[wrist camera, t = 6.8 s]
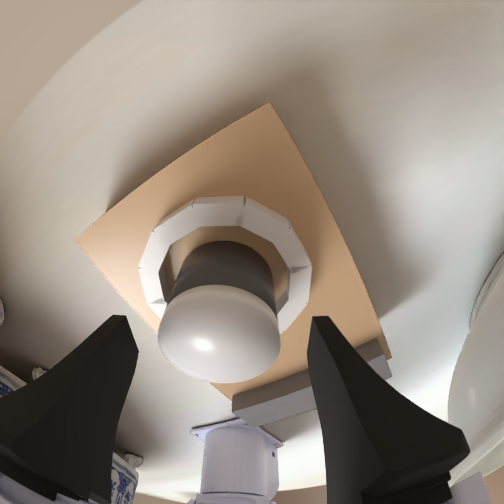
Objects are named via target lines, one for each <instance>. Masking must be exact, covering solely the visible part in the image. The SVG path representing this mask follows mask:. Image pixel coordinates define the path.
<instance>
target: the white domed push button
mask: <svg viewBox="0 0 504 504" xmlns="http://www.w3.org/2000/svg"><path fill="white" fill-rule="evenodd" d="M158 343H159V346H160V349H161V351H162V353H163V354H164V356H165V357H166V359H167V360H168V361H169V362H170V363H171V364H172V365H173V366H174V367H176V368H177V369H178V370H180V371H181V372H183V373H185V374H187V375H189V376H191V377H193V378H196V379H199V380H203V381H207V382H212V383H237V382H242V381H246V380H249V379H252V378H255V377H257V376H259V375H261V374H262V373H264V372H265V371H266V370H268V369H269V368H270V367H271V366H272V365H273V364H274V362H275V361H276V359H277V357H278V355H279V352H280V347H281V341H280V333H279V325H278V317H277V309H276V301H275V293H274V286H273V278H272V273H271V269H270V267H269V265H268V263H267V262H266V260H265V259H264V258H263V257H262V256H261V255H260V254H259V253H258V252H257V251H255V250H254V249H252V248H251V247H249V246H247V245H244V244H241V243H238V242H234V241H213V242H209V243H206V244H203V245H201V246H199V247H198V248H196V249H194V250H193V251H192V252H191V253H190V254H189V255H188V256H187V257H186V259H185V260H184V262H183V264H182V266H181V268H180V271H179V273H178V276H177V279H176V281H175V284H174V287H173V289H172V292H171V295H170V298H169V300H168V303H167V306H166V309H165V312H164V314H163V317H162V320H161V323H160V326H159V330H158Z"/></svg>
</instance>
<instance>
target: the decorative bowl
mask: <svg viewBox="0 0 504 504" xmlns="http://www.w3.org/2000/svg"><path fill="white" fill-rule="evenodd" d="M45 372H47V371H44V370H43V369H42V368H40V367H38V369H37V368H33V371H32V377H33V380H35V379H36V378H38V377H40V376H41V375H43V374H44V373H45ZM26 384H27V383H25V382H24V381H22V380H21V379H19V378H18V377H16V376H15V375H14V374H12V373H11V372H9V371H8V370H6V369H5V368H3V367H2V366H0V397H2V396H5V395H7V394H9V393H11V392H13V391H15V390H17V389H19V388H21V387H23V386H25V385H26ZM142 463H143V458H142V457H136V456H135V455H132V454H125V456H124V460H123V459H122V458H121V457H119V456H118V455H117V454H116V453H114V452H113V459H112V473H111V501H112V503H111V504H133V497H134V494H135V490H136V487H137V483H138V476H139V475H138V473H137V472H136V471H135V468H136V467H138V466H139V465H141V464H142ZM79 502H81V503H84V504H94V503H92V502H89V501H88V502H84V501H81V500H79Z"/></svg>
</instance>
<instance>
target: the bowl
mask: <svg viewBox="0 0 504 504" xmlns="http://www.w3.org/2000/svg"><path fill="white" fill-rule="evenodd" d="M448 422H449V424H451V425H453V426H456V427H458V428H460V429H462V431H463V433H464V435H465V437H466V440H467V442H468V445H469V448H470V453H469V455H468V456H467V457H466V458H465V459H464V460H463V461H462V462H461V463H459V464H458V465H457V466H455V467H454V468H453V469H452V470H450V475H451V480H450V481H448V485H449V487H451V486H453V485H454V484H456V483H458V482H460V481H462V480H464V479H466V478H468V477H470V476H472V475H474V474H476V473H477V472H481V473H482V476H483V477H485V476H486V475H488V474H490V473H492V472H493V471H495V470H497V469H498V468H500V467H501V466H503V465H504V253H503V254H502V256H501V257H500V258H499V260H498V261H497V263H496V264H495V266H494V268H493V269H492V271H491V273H490V275H489V276H488V278H487V280H486V281H485V283H484V285H483V287H482V289H481V291H480V294H479V296H478V298H477V300H476V303H475V306H474V308H473V312H472V316H471V321H470V332H469V334H468V336H467V338H466V340H465V342H464V345H463V347H462V350H461V352H460V355H459V357H458V360H457V363H456V366H455V370H454V373H453V376H452V381H451V385H450V391H449V399H448Z"/></svg>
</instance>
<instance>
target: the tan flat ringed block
mask: <svg viewBox="0 0 504 504" xmlns="http://www.w3.org/2000/svg"><path fill="white" fill-rule="evenodd" d="M75 241H76V243H77V244H78V245H79V247H80V248H81V249H82V251H83V252H84V253H85V254H86V256H87V257H88V258H89V259H90V261H91V262H92V263H93V264H94V265H95V267H96V268H97V269H98V270H99V271H100V273H101V274H102V275H103V276H104V277H105V279H106V280H107V281H108V282H109V283H110V284H111V286H112V287H113V288H114V289H115V290H116V291H117V292H118V293H119V295H120V296H121V297H122V298H123V299H124V300H125V301H126V302H127V303H128V305H129V306H130V307H131V308H132V309H133V310H134V311H135V312H136V313H137V314H138V315H139V316H140V317H141V318H142V319H143V320H144V321H145V323H146V324H147V325H148V326H149V327H150V328H151V329H152V330H153V331H154V332H155V333H156V334H157V335H158V330H159V326H160V323H161V320H162V317H163V314H164V312H165V309H166V306H167V303H168V300H169V298H170V295H171V292H172V289H173V287H174V284H175V281H176V279H177V276H178V273H179V271H180V268H181V266H182V264H183V262H184V260H185V259H186V257H187V256H188V255H189V254H190V253H191V252H192V251H193V250H194V249H196V248H198V247H199V246H201V245H203V244H206V243H209V242H213V241H234V242H238V243H241V244H244V245H247V246H249V247H251V248H252V249H254V250H255V251H257V252H258V253H259V254H260V255H261V256H262V257H263V258H264V259H265V260H266V262H267V263H268V265H269V267H270V269H271V273H272V278H273V286H274V293H275V301H276V309H277V317H278V325H279V333H280V341H281V347H280V352H279V355H278V357H277V359H276V361H275V362H274V364H273V365H272V366H271V367H270V368H269V369H268V370H266V371H265V372H264V373H262V374H261V375H259V376H257V377H255V378H252V379H249V380H246V381H242V382H237V383H212V382H209V383H211V384H212V385H213V386H214V387H215V388H216V389H218V390H219V391H220V392H221V393H222V394H224V395H225V396H226V397H227V398H229V399H230V400H231V401H232V413H234V414H235V415H237V416H238V417H239V418H241V419H242V420H243V421H245V422H246V423H248V424H249V425H250V426H252V427H253V428H254V427H258V426H262V425H265V424H269V423H273V422H276V421H279V420H283V419H286V418H289V417H292V416H296V415H299V414H302V413H305V412H308V411H311V410H313V409H316V408H317V406H316V402H315V398H314V394H313V390H312V386H311V381H310V377H309V370H308V361H307V348H308V341H309V335H310V328H311V321H312V316H329V317H330V318H331V319H332V321H333V322H334V323H335V325H336V326H337V327H338V329H339V330H340V331H341V333H342V334H343V335H344V336H345V338H346V339H347V340H348V341H349V343H350V344H351V345H352V346H353V347H354V349H355V350H356V351H357V352H358V353H359V354H360V356H361V357H362V358H363V359H364V360H365V361H366V362H367V363H368V364H369V365H370V366H371V367H372V368H373V370H374V371H375V372H376V373H377V374H379V375H380V376H381V377H382V378H383V379H384V380H386V379H388V378H390V377H392V374H391V371H390V368H389V366H388V363H387V360H389V359H391V358H392V356H391V353H390V350H389V348H388V345H387V342H386V339H385V336H384V334H383V331H382V328H381V326H380V323H379V321H378V318H377V315H376V313H375V310H374V308H373V305H372V303H371V300H370V298H369V295H368V293H367V290H366V288H365V286H364V283H363V281H362V279H361V276H360V274H359V272H358V269H357V267H356V265H355V262H354V260H353V258H352V256H351V253H350V251H349V249H348V247H347V245H346V243H345V240H344V238H343V236H342V234H341V232H340V230H339V228H338V226H337V223H336V221H335V219H334V217H333V215H332V213H331V211H330V209H329V207H328V205H327V203H326V201H325V199H324V197H323V195H322V193H321V191H320V189H319V188H318V186H317V184H316V182H315V180H314V178H313V176H312V174H311V172H310V171H309V169H308V167H307V165H306V163H305V161H304V160H303V158H302V156H301V154H300V152H299V151H298V149H297V147H296V145H295V143H294V142H293V140H292V138H291V137H290V135H289V133H288V131H287V130H286V128H285V126H284V125H283V123H282V121H281V120H280V118H279V116H278V115H277V113H276V111H275V110H274V108H273V106H272V105H271V103H267V104H265V105H263V106H261V107H259V108H257V109H256V110H254V111H252V112H250V113H249V114H247V115H245V116H243V117H242V118H240V119H238V120H237V121H235V122H233V123H231V124H230V125H228V126H226V127H225V128H223V129H222V130H220V131H218V132H217V133H215V134H213V135H212V136H210V137H209V138H207V139H206V140H204V141H202V142H201V143H199V144H198V145H196V146H195V147H193V148H192V149H190V150H189V151H187V152H186V153H184V154H183V155H181V156H180V157H178V158H177V159H176V160H174V161H173V162H171V163H170V164H168V165H167V166H166V167H164V168H163V169H161V170H160V171H159V172H157V173H156V174H155V175H153V176H152V177H150V178H149V179H148V180H146V181H145V182H144V183H142V184H141V185H140V186H138V187H137V188H136V189H135V190H133V191H132V192H131V193H129V194H128V195H127V196H126V197H124V198H123V199H122V200H121V201H119V202H118V203H117V204H116V205H114V206H113V207H112V208H111V209H110V210H108V211H107V212H106V213H105V214H104V215H102V216H101V217H100V218H99V219H98V220H97V221H96V222H94V223H93V224H92V225H91V226H90V227H89V228H88V229H87V230H85V231H84V232H83V233H82V234H81V235H80V236H79V237H78V238H77V239H76V240H75Z"/></svg>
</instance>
